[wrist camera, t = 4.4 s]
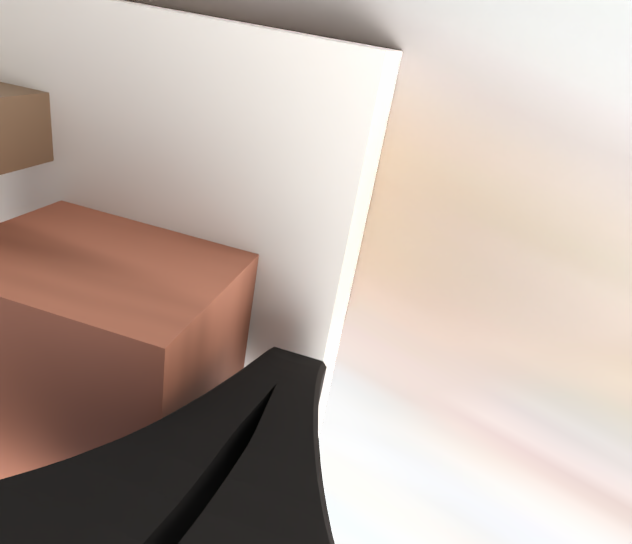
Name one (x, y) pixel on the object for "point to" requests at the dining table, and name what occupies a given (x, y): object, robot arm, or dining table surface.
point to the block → (109, 328)
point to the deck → (204, 143)
